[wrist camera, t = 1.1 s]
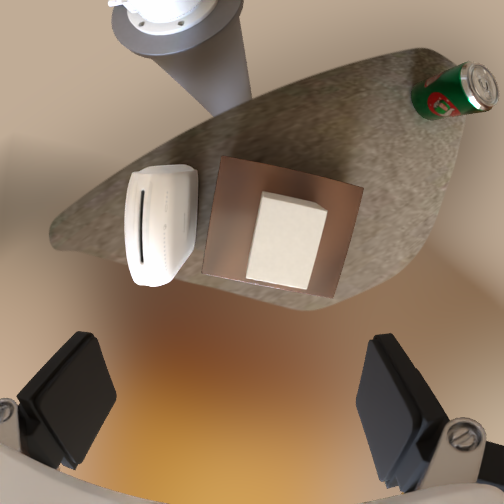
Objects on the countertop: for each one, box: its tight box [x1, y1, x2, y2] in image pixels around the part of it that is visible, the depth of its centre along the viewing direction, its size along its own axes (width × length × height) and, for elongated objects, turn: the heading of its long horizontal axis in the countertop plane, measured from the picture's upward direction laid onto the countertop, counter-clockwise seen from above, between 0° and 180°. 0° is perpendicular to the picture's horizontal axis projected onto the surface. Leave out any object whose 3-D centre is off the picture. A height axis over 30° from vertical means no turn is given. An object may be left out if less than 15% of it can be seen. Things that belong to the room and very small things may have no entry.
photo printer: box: [124, 164, 198, 287], centre depth 27 cm, size 10×4×12 cm, turn 175°
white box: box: [246, 191, 327, 289], centre depth 25 cm, size 5×6×5 cm
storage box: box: [202, 156, 364, 299], centre depth 30 cm, size 13×11×6 cm
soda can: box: [411, 62, 499, 120], centre depth 22 cm, size 5×5×12 cm
